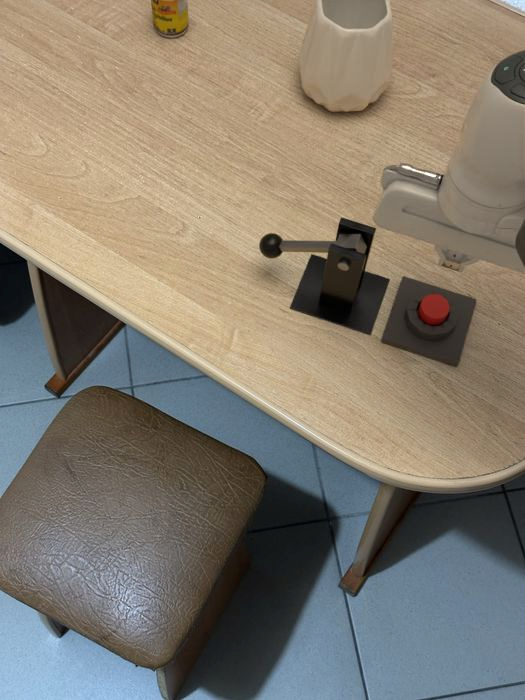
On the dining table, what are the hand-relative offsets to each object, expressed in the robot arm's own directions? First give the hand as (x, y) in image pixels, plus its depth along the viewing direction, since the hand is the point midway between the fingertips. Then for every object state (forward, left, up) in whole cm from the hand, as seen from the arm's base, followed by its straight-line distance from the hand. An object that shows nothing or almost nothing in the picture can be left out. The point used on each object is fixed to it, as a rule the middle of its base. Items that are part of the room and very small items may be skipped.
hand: (450, 264), depth 96 cm
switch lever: (+16, 0, -7) cm, 17 cm away
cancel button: (0, 0, -11) cm, 11 cm away
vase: (+23, -36, -15) cm, 45 cm away
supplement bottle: (+52, -38, -15) cm, 66 cm away
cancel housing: (0, 0, -15) cm, 15 cm away
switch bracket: (+12, 0, -15) cm, 19 cm away
